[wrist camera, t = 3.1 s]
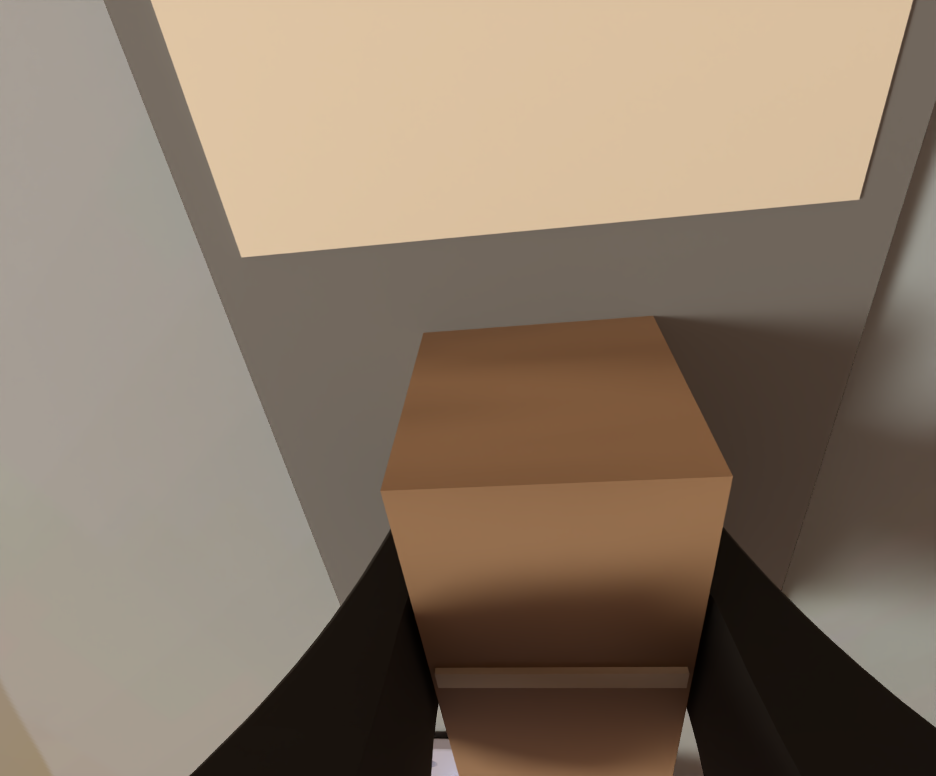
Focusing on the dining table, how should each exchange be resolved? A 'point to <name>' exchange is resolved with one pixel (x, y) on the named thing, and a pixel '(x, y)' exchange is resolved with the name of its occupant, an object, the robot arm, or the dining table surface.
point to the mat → (540, 206)
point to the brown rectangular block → (557, 542)
